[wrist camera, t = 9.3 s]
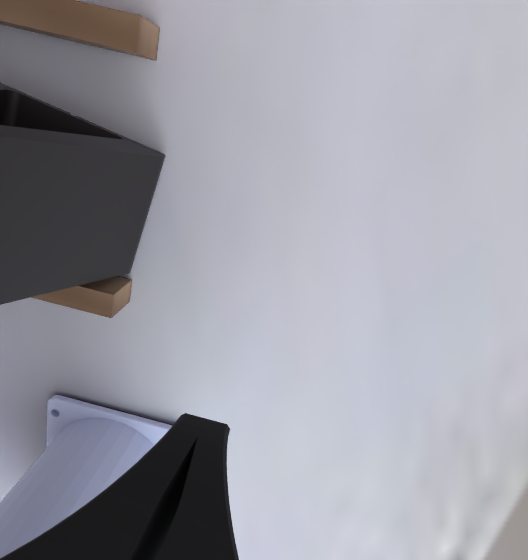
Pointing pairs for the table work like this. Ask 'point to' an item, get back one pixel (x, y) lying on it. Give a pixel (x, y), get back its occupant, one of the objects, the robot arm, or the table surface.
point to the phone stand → (67, 198)
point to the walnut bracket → (105, 34)
